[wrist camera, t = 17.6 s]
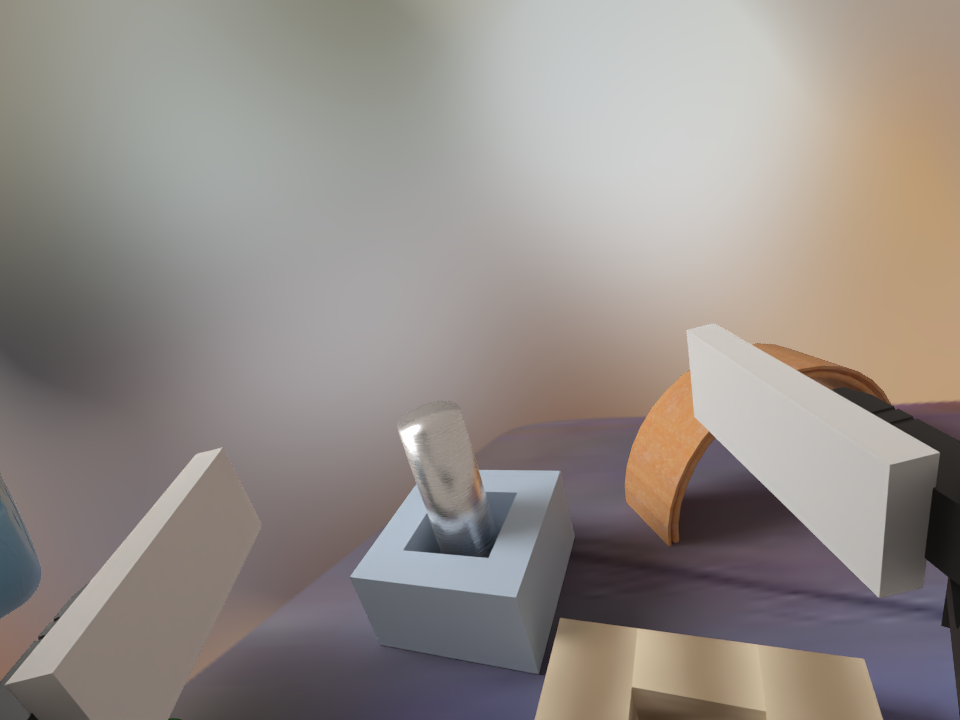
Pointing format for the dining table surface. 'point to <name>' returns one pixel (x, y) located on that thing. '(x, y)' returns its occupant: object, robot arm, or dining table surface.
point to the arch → (700, 440)
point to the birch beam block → (695, 679)
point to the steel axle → (448, 479)
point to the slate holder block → (473, 577)
